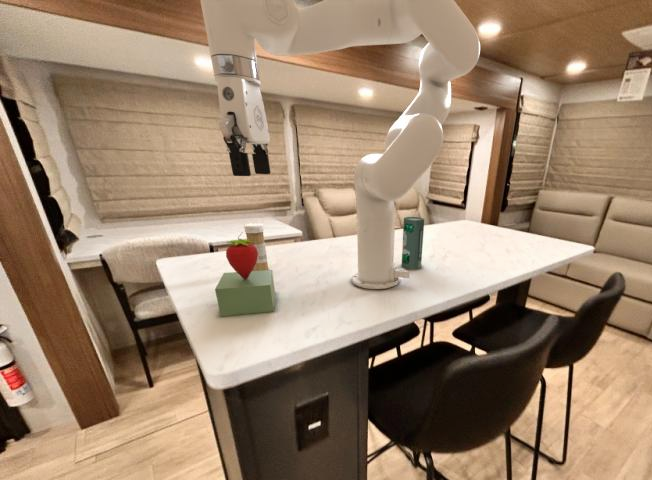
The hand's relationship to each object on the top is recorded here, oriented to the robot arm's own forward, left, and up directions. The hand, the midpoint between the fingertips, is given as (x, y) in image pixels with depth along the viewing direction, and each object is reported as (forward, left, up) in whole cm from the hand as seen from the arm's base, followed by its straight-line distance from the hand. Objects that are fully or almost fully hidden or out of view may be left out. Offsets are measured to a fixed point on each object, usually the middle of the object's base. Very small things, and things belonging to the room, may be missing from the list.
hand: (253, 174), depth 63 cm
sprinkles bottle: (+9, -15, -27) cm, 32 cm away
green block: (+2, +6, -27) cm, 27 cm away
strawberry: (+2, +6, -21) cm, 22 cm away
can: (-34, -27, -27) cm, 51 cm away
